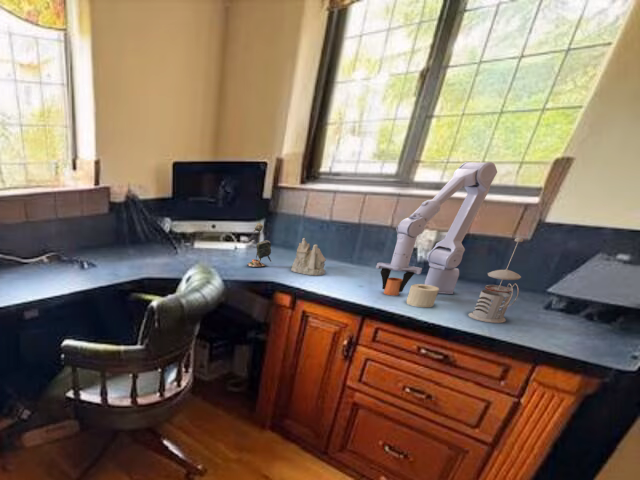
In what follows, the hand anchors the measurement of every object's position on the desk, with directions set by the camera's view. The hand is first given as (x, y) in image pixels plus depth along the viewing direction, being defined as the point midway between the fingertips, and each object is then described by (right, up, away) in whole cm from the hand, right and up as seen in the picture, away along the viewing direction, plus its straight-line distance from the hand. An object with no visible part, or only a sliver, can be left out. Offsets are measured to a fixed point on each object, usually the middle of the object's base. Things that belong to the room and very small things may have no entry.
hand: (392, 289), depth 160 cm
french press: (+16, -15, -24) cm, 33 cm away
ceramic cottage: (-17, +16, +34) cm, 41 cm away
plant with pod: (-38, +21, +44) cm, 61 cm away
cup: (0, -1, +1) cm, 1 cm away
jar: (+3, -7, -10) cm, 13 cm away
